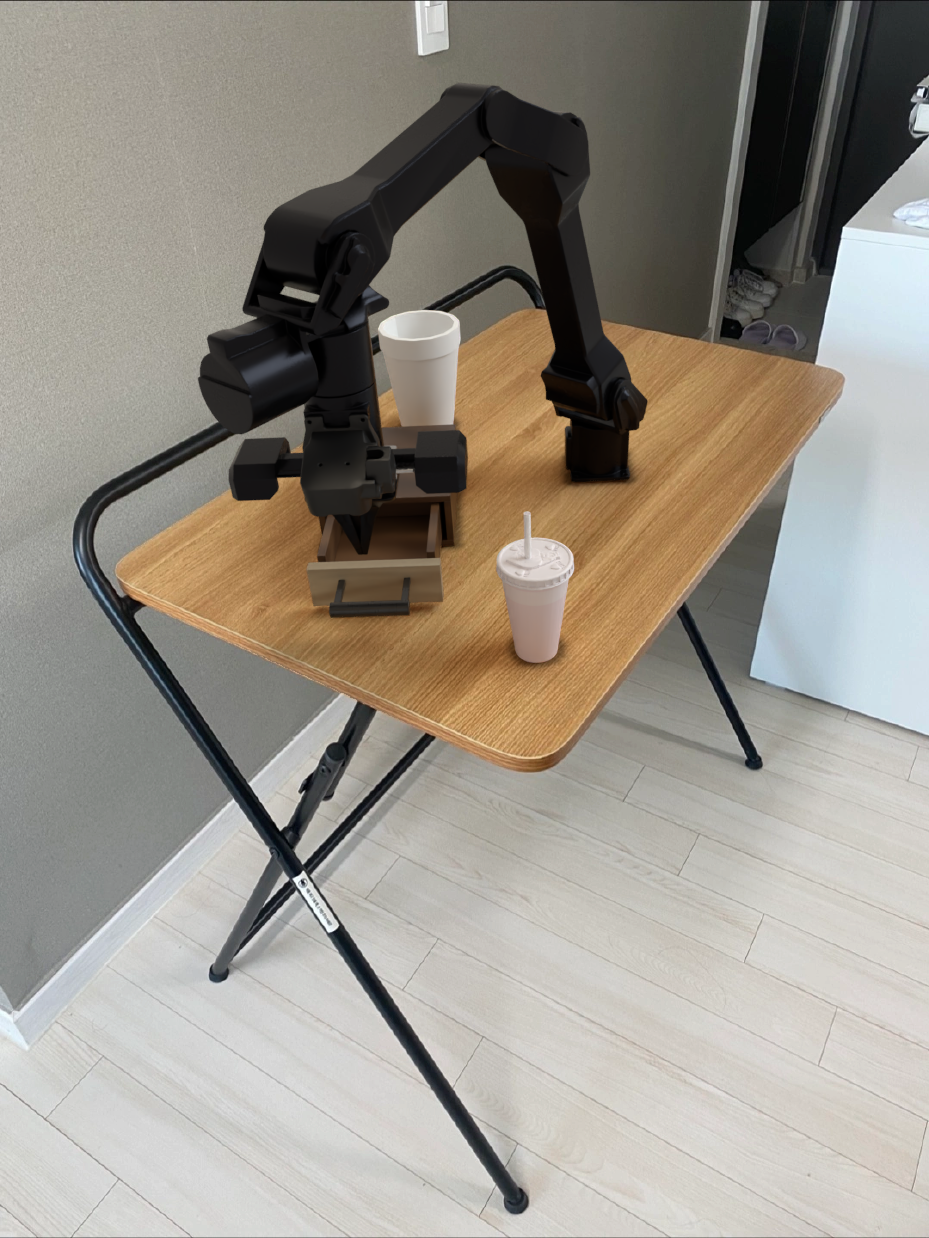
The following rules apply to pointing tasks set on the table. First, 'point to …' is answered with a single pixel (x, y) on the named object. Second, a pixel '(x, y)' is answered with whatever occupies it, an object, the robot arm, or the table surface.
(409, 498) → the cabinet
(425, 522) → the drawer
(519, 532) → the table surface
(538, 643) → the smoothie
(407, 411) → the foam cup
